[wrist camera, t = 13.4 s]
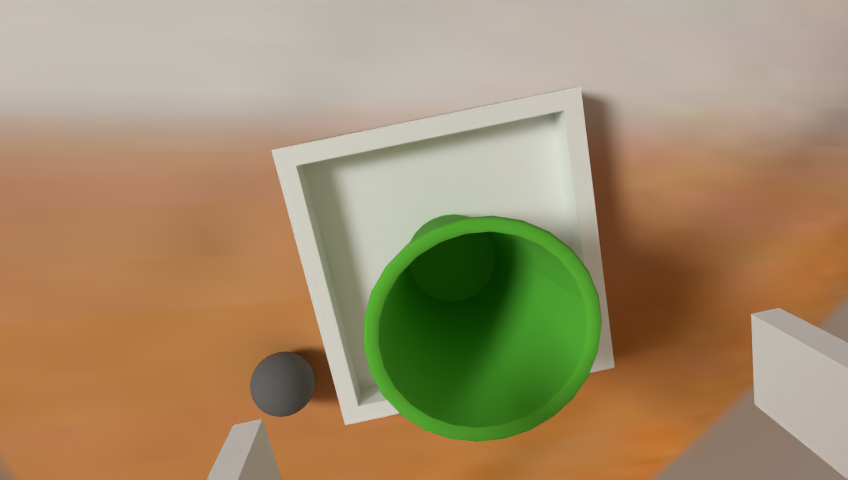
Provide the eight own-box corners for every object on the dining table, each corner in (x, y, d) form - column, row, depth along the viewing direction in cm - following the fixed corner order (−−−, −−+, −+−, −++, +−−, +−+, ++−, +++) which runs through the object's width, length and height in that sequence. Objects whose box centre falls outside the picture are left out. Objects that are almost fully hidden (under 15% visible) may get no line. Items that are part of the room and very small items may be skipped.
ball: (252, 348, 31) (234, 377, 28) (310, 336, 31) (300, 363, 28) (268, 400, 32) (252, 435, 28) (325, 388, 32) (317, 422, 28)
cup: (349, 210, 29) (326, 266, 18) (504, 157, 29) (571, 183, 18) (402, 349, 31) (408, 472, 20) (545, 301, 31) (627, 400, 20)
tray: (281, 147, 28) (271, 150, 26) (564, 89, 29) (580, 86, 26) (348, 401, 32) (345, 425, 30) (598, 348, 32) (614, 367, 30)
